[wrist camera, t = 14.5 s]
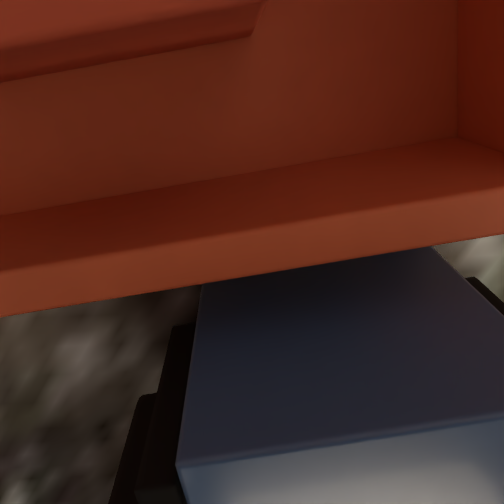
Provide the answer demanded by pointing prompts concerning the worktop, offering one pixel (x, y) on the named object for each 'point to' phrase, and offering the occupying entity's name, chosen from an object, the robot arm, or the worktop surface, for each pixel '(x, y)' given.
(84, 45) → the terracotta block
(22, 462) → the worktop surface
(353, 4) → the terracotta bin
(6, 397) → the worktop surface
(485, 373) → the blue cubic block piece
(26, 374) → the worktop surface
